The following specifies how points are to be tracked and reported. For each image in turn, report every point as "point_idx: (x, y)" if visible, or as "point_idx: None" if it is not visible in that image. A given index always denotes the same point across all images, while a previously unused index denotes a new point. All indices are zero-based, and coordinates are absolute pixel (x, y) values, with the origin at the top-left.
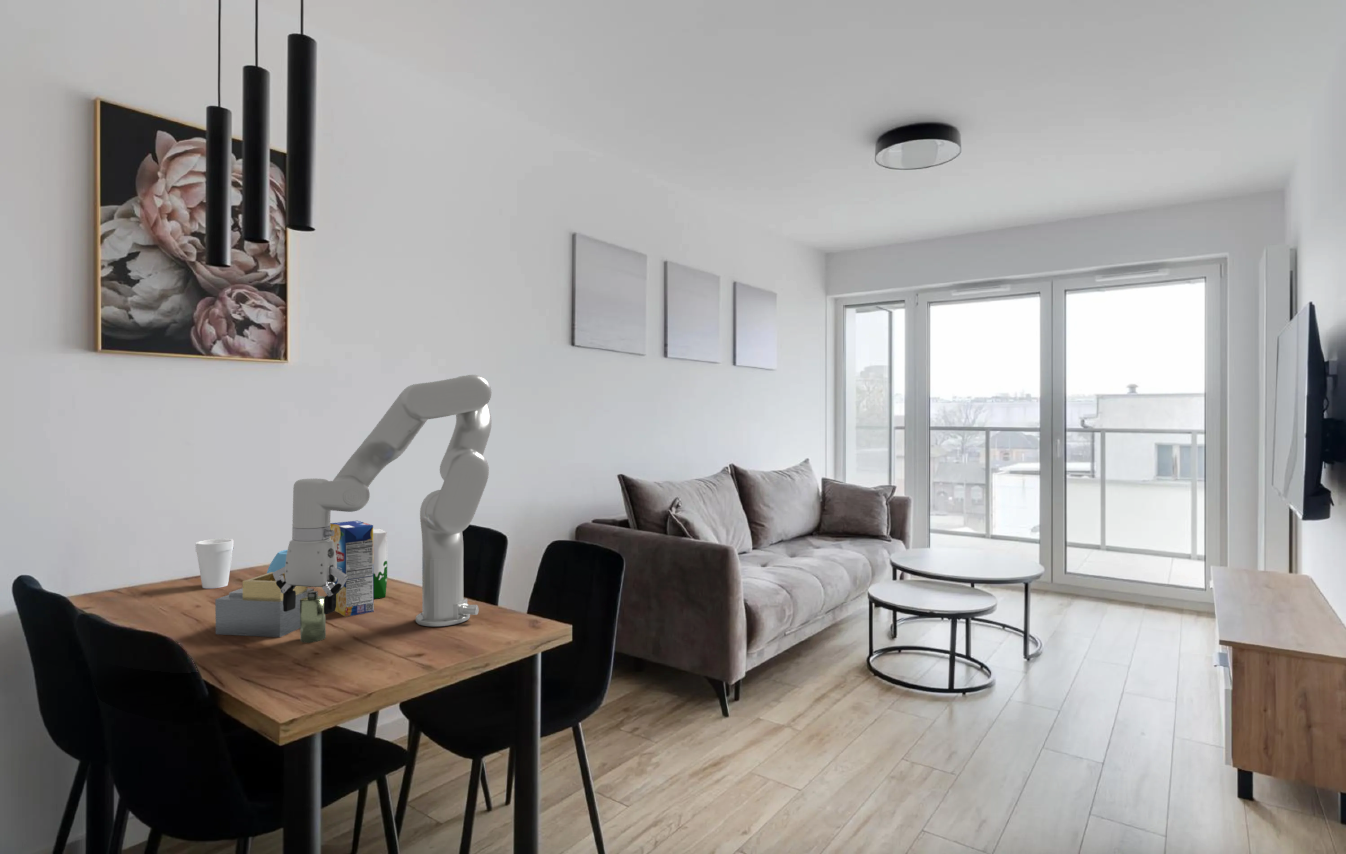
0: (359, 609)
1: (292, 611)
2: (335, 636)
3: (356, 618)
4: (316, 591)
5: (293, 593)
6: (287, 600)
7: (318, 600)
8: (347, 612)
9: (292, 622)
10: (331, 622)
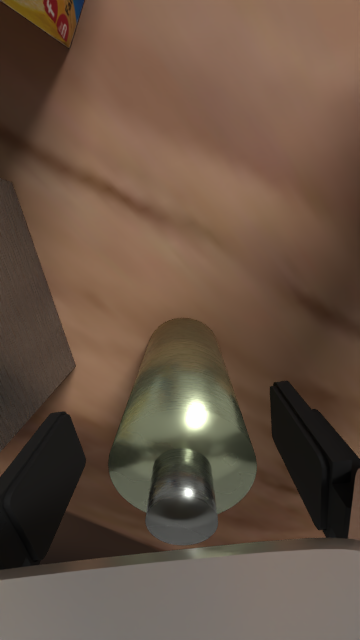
0: None
1: (6, 339)
2: (235, 312)
3: (142, 57)
4: (196, 505)
5: (25, 508)
6: (61, 511)
7: (247, 487)
8: (63, 19)
9: (38, 322)
10: (86, 165)
